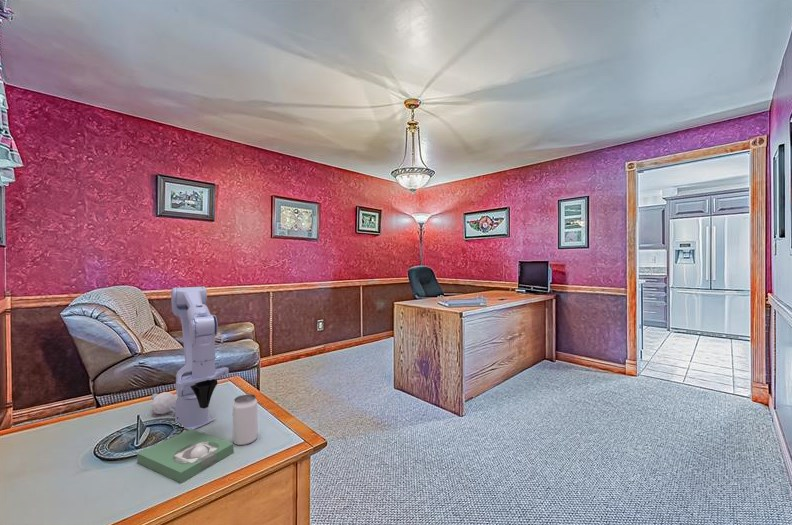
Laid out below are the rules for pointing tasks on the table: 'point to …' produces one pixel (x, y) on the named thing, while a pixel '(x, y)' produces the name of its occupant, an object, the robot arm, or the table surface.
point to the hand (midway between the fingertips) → (204, 407)
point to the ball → (198, 452)
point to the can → (245, 419)
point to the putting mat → (184, 455)
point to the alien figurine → (163, 403)
